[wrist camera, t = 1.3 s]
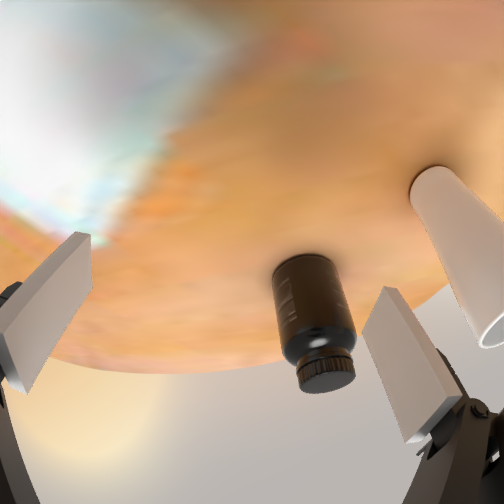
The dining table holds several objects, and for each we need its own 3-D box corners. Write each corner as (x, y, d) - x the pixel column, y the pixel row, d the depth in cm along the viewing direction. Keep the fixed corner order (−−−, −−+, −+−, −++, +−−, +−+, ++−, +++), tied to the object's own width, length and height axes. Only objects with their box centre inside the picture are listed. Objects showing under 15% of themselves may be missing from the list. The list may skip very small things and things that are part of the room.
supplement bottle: (290, 304, 36) (306, 404, 27) (258, 271, 32) (269, 385, 23) (345, 280, 34) (375, 380, 25) (321, 241, 30) (353, 356, 21)
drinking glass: (442, 142, 22) (554, 271, 12) (468, 187, 26) (553, 307, 15) (387, 189, 26) (468, 337, 15) (419, 227, 29) (486, 357, 18)
